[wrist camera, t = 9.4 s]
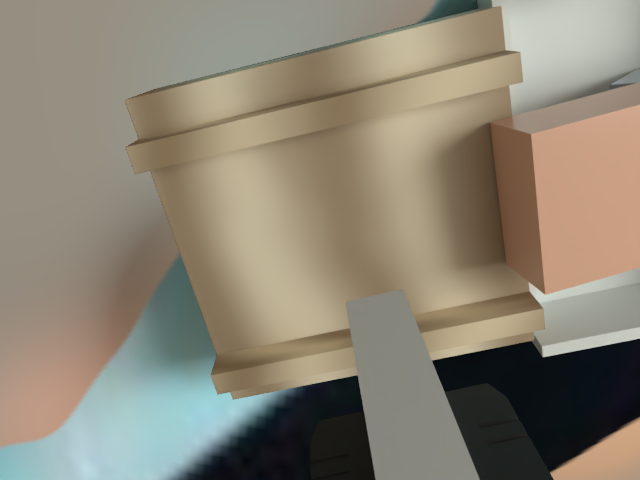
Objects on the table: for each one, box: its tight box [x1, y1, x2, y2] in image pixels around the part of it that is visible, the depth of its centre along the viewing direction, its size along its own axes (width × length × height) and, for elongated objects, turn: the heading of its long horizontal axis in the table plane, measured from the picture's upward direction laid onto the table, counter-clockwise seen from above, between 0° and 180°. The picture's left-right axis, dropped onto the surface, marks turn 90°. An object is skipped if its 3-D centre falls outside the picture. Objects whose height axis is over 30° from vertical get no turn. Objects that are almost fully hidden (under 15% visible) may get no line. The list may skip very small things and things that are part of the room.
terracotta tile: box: [490, 83, 640, 295], centre depth 20 cm, size 6×6×3 cm
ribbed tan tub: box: [125, 6, 545, 399], centre depth 23 cm, size 14×14×6 cm
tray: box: [477, 0, 640, 357], centre depth 22 cm, size 10×16×4 cm, turn 13°
